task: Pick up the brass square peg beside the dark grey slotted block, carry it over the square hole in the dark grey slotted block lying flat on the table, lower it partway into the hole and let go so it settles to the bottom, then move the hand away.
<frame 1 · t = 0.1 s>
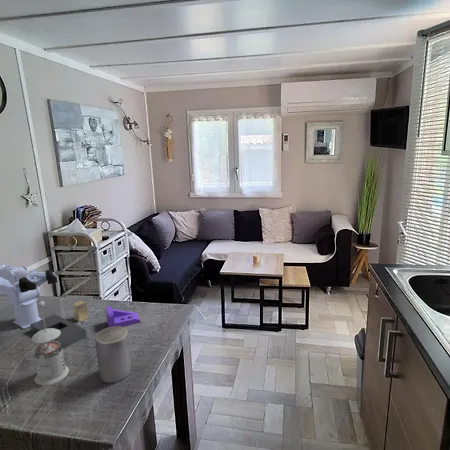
hand: (45, 283, 123), 22 cm above the table, tool horizontal, fingers open, 7 cm apart
dark grey slotted block: (58, 334, 129), on the table
brass peg: (81, 318, 141), on the table
french press: (50, 374, 106), on the table
bracket: (123, 323, 138), on the table
pillar candle: (115, 373, 106), on the table
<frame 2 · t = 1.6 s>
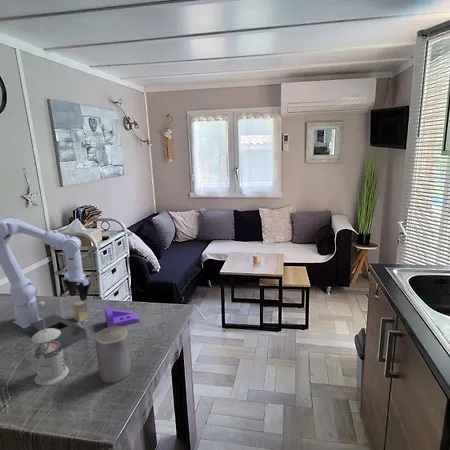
hand: (78, 297, 139), 9 cm above the table, tool pointing down, fingers open, 7 cm apart
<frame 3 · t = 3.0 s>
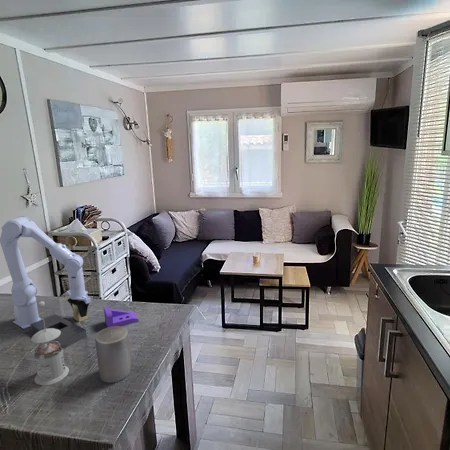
hand: (80, 314, 141), 2 cm above the table, tool pointing down, fingers closed on brass peg, 4 cm apart
brass peg: (81, 318, 141), on the table, touching gripper
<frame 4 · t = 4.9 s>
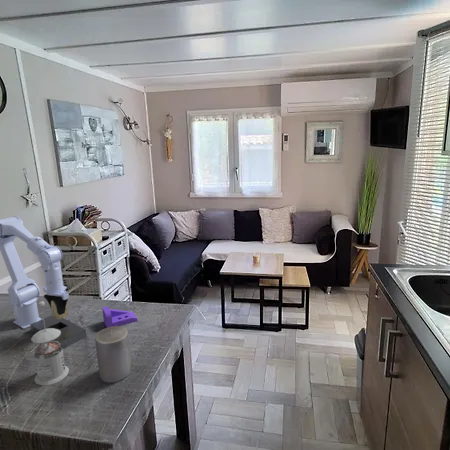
hand: (58, 312, 129), 8 cm above the table, tool pointing down, fingers closed on brass peg, 4 cm apart
brass peg: (60, 316, 130), point 6 cm above the table, touching gripper
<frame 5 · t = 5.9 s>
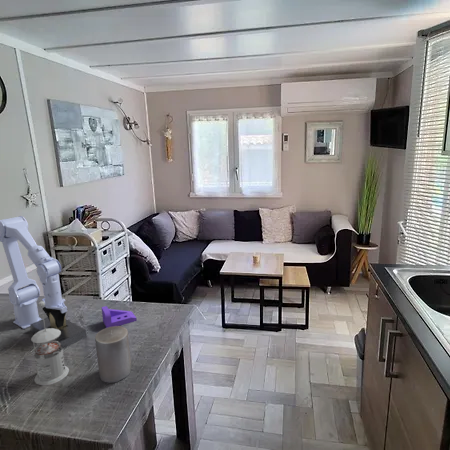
hand: (57, 324, 129), 4 cm above the table, tool pointing down, fingers closed on brass peg, 4 cm apart
brass peg: (58, 329, 129), point 2 cm above the table, touching gripper
when the fingers open (4 cm above the table, at t = 6.8 s): brass peg drops 2 cm, resting in dark grey slotted block.
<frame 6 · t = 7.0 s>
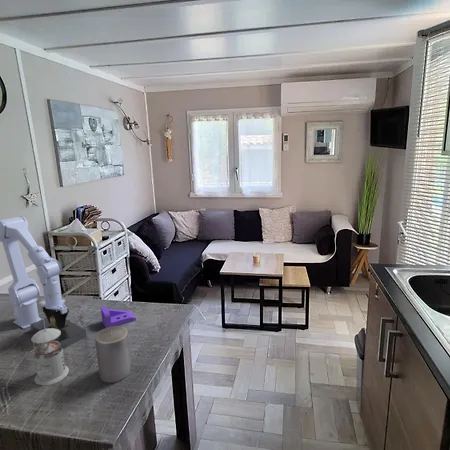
hand: (57, 325, 129), 4 cm above the table, tool pointing down, fingers open, 6 cm apart
brass peg: (59, 333, 130), resting in dark grey slotted block
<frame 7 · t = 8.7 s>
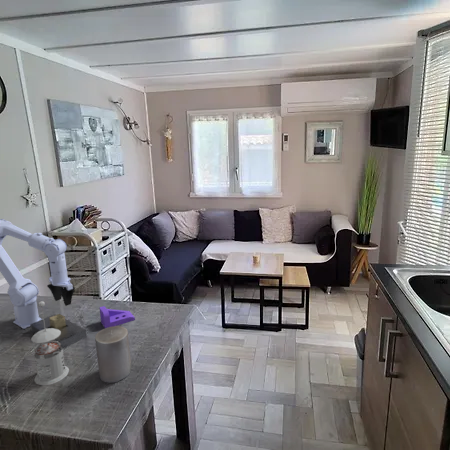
hand: (63, 302, 135), 9 cm above the table, tool pointing down, fingers open, 7 cm apart
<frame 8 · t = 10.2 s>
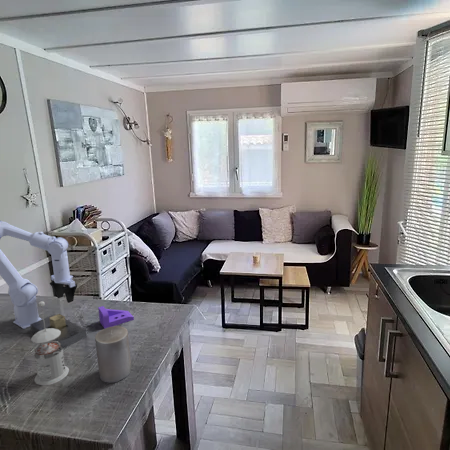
hand: (65, 299, 138), 9 cm above the table, tool pointing down, fingers open, 7 cm apart
at the end: brass peg 0.4 cm off-centre on the dark grey slotted block, point 0.0 cm above the dark grey slotted block's base; brass peg tilted 0°; the gripper is holding nothing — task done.
